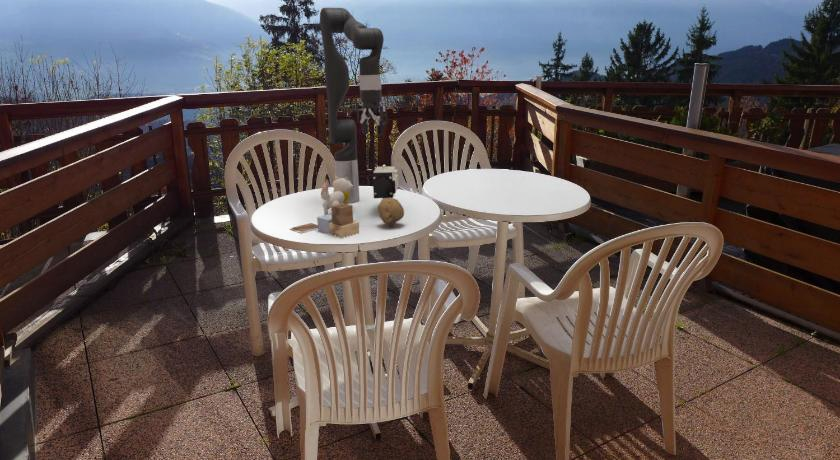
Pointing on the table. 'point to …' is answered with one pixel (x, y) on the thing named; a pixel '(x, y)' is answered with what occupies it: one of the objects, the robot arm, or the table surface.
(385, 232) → the table surface
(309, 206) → the table surface
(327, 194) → the toy
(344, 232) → the oak base
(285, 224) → the table surface
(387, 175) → the black and cream box
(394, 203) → the natural sponge
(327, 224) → the bluegrey block
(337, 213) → the walnut cube
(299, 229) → the tile
